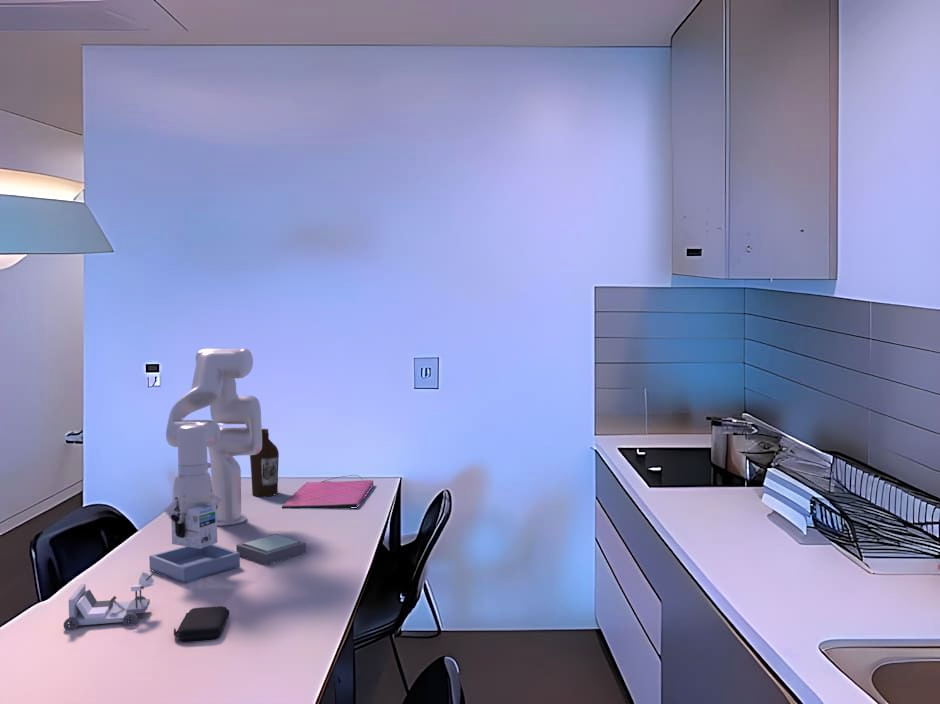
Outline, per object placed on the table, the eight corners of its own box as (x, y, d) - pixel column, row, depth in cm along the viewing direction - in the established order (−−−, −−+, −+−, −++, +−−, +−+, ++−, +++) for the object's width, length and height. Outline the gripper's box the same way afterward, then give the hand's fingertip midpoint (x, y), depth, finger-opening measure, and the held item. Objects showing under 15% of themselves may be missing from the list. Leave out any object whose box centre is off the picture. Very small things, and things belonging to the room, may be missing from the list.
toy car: (157, 566, 189) (148, 583, 178) (158, 606, 189) (149, 625, 178) (76, 571, 185) (62, 589, 174) (78, 612, 186) (63, 632, 174)
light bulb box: (218, 543, 215) (217, 504, 215) (200, 549, 209) (199, 510, 209) (189, 538, 220) (188, 500, 219) (170, 544, 214) (169, 505, 213)
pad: (243, 548, 227) (243, 543, 227) (275, 539, 235) (275, 534, 235) (267, 556, 220) (267, 550, 220) (298, 546, 228) (298, 541, 228)
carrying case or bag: (183, 618, 182) (169, 646, 167) (183, 606, 182) (168, 632, 167) (231, 616, 183) (220, 642, 169) (230, 603, 183) (220, 628, 169)
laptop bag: (357, 499, 277) (281, 500, 278) (357, 510, 277) (281, 511, 279) (375, 474, 317) (309, 475, 318) (375, 483, 317) (309, 484, 318)
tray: (149, 570, 214) (149, 555, 214) (205, 554, 227) (204, 541, 227) (184, 584, 203) (183, 568, 203) (239, 566, 216) (239, 552, 216)
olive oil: (245, 493, 300) (244, 429, 298) (270, 489, 307) (269, 426, 305) (259, 498, 292) (258, 432, 290) (284, 494, 299) (283, 429, 298)
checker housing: (236, 555, 227) (236, 544, 226) (276, 543, 238) (275, 533, 237) (266, 565, 218) (266, 554, 218) (305, 552, 229) (305, 542, 229)
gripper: (213, 463, 223) (214, 524, 224) (155, 473, 209) (157, 538, 210) (228, 466, 218) (229, 528, 219) (170, 477, 204) (172, 543, 205)
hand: (194, 533), depth 214 cm, fingers closed on light bulb box, 7 cm apart
